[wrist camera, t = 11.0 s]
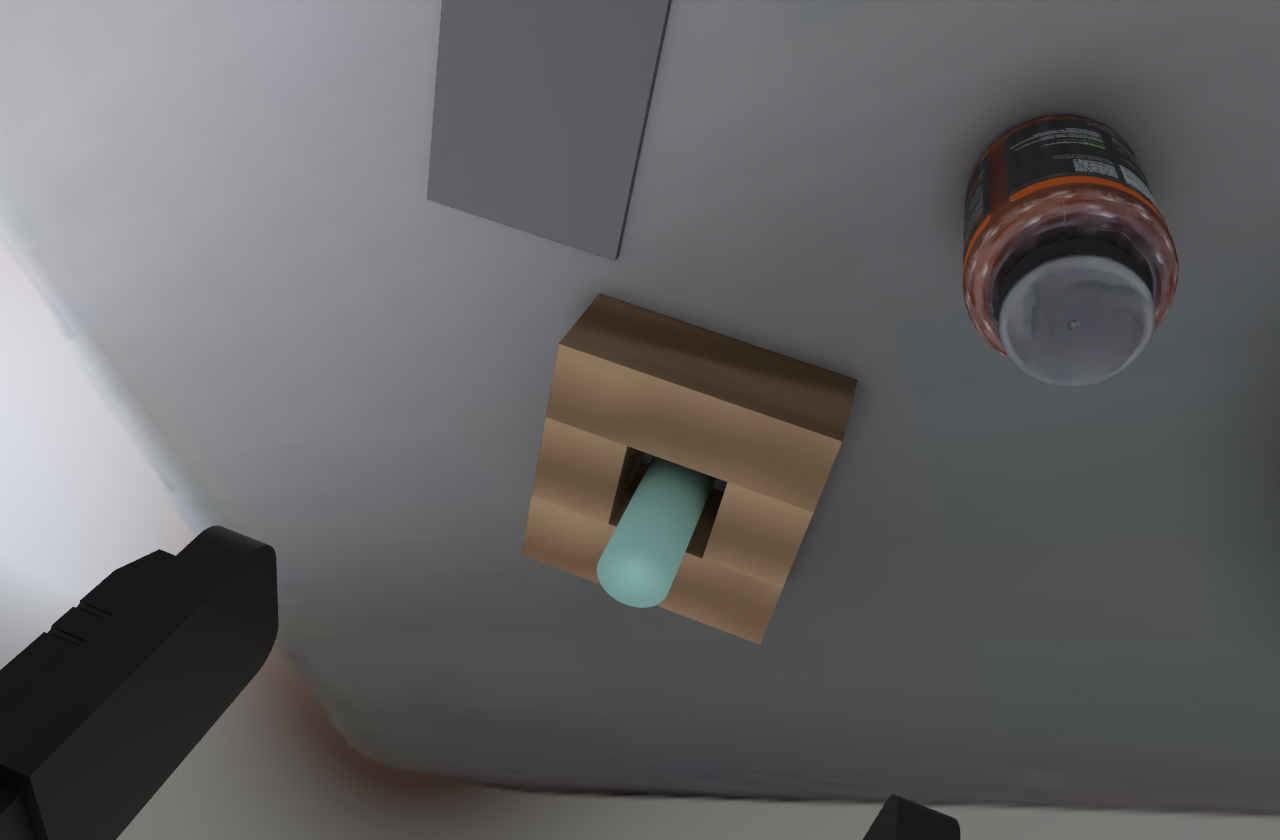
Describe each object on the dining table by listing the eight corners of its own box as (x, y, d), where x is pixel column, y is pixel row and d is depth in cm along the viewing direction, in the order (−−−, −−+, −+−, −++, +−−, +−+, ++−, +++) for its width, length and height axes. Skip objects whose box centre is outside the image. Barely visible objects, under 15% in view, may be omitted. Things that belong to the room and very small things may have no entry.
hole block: (599, 293, 43) (558, 343, 39) (857, 380, 42) (842, 441, 38) (559, 494, 50) (521, 554, 46) (779, 575, 49) (759, 644, 45)
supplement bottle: (988, 286, 38) (987, 438, 29) (946, 144, 36) (929, 259, 26) (1157, 242, 35) (1215, 393, 26) (1122, 84, 33) (1172, 189, 24)
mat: (454, -99, 36) (449, -98, 36) (678, -36, 35) (675, -34, 35) (431, 196, 43) (427, 199, 43) (617, 257, 42) (615, 261, 42)
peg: (673, 408, 45) (603, 537, 37) (734, 429, 45) (676, 564, 37) (660, 457, 47) (590, 591, 39) (718, 478, 47) (660, 617, 38)
